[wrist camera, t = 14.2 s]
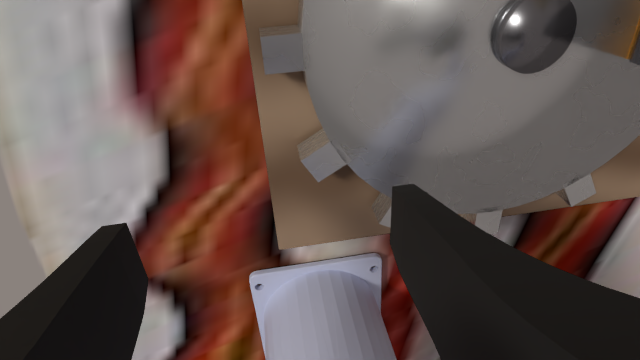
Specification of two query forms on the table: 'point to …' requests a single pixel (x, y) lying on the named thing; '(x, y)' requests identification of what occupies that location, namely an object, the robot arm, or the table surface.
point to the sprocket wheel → (465, 95)
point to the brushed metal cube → (636, 51)
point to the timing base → (344, 184)
